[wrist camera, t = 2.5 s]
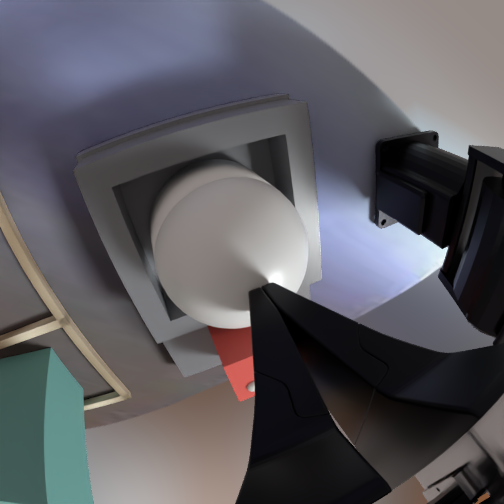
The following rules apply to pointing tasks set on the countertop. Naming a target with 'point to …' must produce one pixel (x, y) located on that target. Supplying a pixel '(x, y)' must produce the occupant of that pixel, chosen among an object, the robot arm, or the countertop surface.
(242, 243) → the dome
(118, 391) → the track
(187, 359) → the dome base
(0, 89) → the countertop surface
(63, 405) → the tall teal block
